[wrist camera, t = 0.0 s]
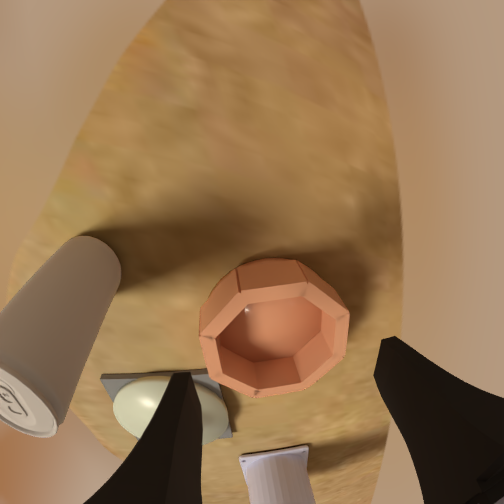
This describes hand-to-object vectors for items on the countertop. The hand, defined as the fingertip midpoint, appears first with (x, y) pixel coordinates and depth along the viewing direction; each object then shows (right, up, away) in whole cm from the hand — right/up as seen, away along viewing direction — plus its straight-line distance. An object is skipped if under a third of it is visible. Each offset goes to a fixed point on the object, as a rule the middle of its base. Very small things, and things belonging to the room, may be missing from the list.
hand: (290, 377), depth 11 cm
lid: (-9, -10, +14) cm, 19 cm away
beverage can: (-12, +4, +8) cm, 15 cm away
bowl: (0, 0, +11) cm, 11 cm away
